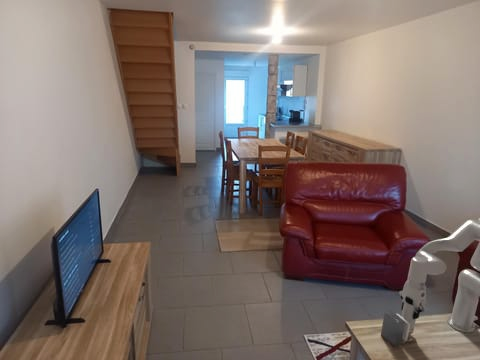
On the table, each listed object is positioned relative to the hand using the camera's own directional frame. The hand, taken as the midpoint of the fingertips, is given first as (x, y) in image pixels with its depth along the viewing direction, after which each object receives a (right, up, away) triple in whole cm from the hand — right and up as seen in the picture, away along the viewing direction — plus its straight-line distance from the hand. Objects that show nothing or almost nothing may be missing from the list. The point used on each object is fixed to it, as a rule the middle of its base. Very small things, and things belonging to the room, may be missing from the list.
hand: (409, 313), depth 171 cm
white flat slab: (-4, -12, +2) cm, 13 cm away
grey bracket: (-5, -13, +2) cm, 14 cm away
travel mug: (0, -9, +3) cm, 10 cm away
